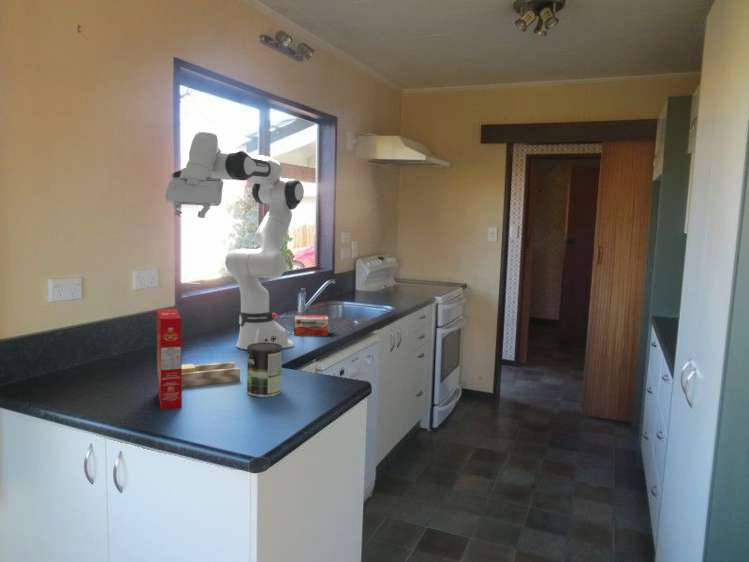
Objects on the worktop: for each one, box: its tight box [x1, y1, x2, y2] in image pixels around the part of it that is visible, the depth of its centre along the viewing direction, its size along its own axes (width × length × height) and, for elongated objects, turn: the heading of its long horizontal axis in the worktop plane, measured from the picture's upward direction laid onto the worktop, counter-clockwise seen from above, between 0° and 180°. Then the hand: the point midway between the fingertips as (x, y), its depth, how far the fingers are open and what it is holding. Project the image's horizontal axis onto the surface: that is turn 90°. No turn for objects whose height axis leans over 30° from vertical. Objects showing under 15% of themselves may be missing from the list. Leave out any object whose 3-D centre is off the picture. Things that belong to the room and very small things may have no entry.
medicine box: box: [293, 314, 329, 337], centre depth 256 cm, size 15×8×8 cm, turn 95°
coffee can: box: [246, 343, 283, 398], centre depth 171 cm, size 10×10×14 cm
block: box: [182, 363, 195, 373], centre depth 179 cm, size 5×5×5 cm
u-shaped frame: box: [182, 361, 241, 388], centre depth 181 cm, size 20×9×5 cm, turn 117°
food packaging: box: [156, 308, 183, 411], centre depth 160 cm, size 15×5×25 cm, turn 24°
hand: (188, 216), depth 188 cm, fingers open, 8 cm apart
